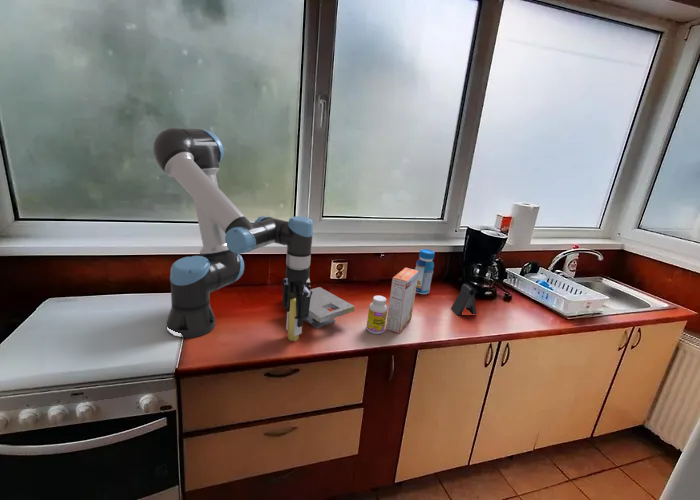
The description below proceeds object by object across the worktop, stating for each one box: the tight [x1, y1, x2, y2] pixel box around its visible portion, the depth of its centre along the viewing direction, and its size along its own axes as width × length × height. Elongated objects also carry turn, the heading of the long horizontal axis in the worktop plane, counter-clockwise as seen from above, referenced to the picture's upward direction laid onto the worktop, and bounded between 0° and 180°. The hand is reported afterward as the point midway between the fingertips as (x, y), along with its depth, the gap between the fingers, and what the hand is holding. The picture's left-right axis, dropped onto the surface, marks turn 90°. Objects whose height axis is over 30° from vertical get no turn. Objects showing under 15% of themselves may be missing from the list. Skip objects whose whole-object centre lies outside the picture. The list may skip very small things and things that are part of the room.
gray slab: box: [303, 286, 355, 330], centre depth 140 cm, size 16×20×8 cm
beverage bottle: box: [414, 248, 436, 295], centre depth 176 cm, size 8×8×20 cm
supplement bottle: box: [366, 295, 389, 335], centre depth 137 cm, size 7×7×13 cm
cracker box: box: [385, 267, 419, 334], centre depth 142 cm, size 14×6×21 cm, turn 152°
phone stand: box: [450, 283, 478, 316], centre depth 160 cm, size 9×6×12 cm, turn 103°
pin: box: [287, 298, 300, 342], centre depth 126 cm, size 4×4×14 cm
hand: (293, 331), depth 127 cm, fingers closed on pin, 3 cm apart
